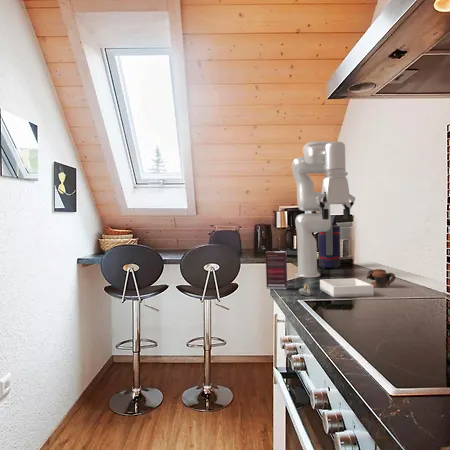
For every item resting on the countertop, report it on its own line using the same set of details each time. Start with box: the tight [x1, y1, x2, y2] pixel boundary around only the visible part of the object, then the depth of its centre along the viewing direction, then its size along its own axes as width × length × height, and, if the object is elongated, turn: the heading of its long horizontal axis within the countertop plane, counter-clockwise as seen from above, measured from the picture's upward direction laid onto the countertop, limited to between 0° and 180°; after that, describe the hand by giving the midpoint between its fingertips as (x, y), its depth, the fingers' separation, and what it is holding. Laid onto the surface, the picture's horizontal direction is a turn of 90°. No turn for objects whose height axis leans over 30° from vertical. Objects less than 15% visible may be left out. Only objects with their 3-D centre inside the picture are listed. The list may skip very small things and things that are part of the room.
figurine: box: [298, 281, 311, 297], centre depth 146 cm, size 5×4×6 cm
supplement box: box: [265, 250, 288, 290], centre depth 160 cm, size 9×5×16 cm, turn 75°
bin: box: [319, 277, 375, 298], centre depth 150 cm, size 16×16×4 cm
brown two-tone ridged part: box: [366, 268, 396, 289], centre depth 161 cm, size 12×10×8 cm
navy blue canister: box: [318, 215, 341, 270], centre depth 214 cm, size 14×12×30 cm
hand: (336, 219), depth 144 cm, fingers open, 9 cm apart
